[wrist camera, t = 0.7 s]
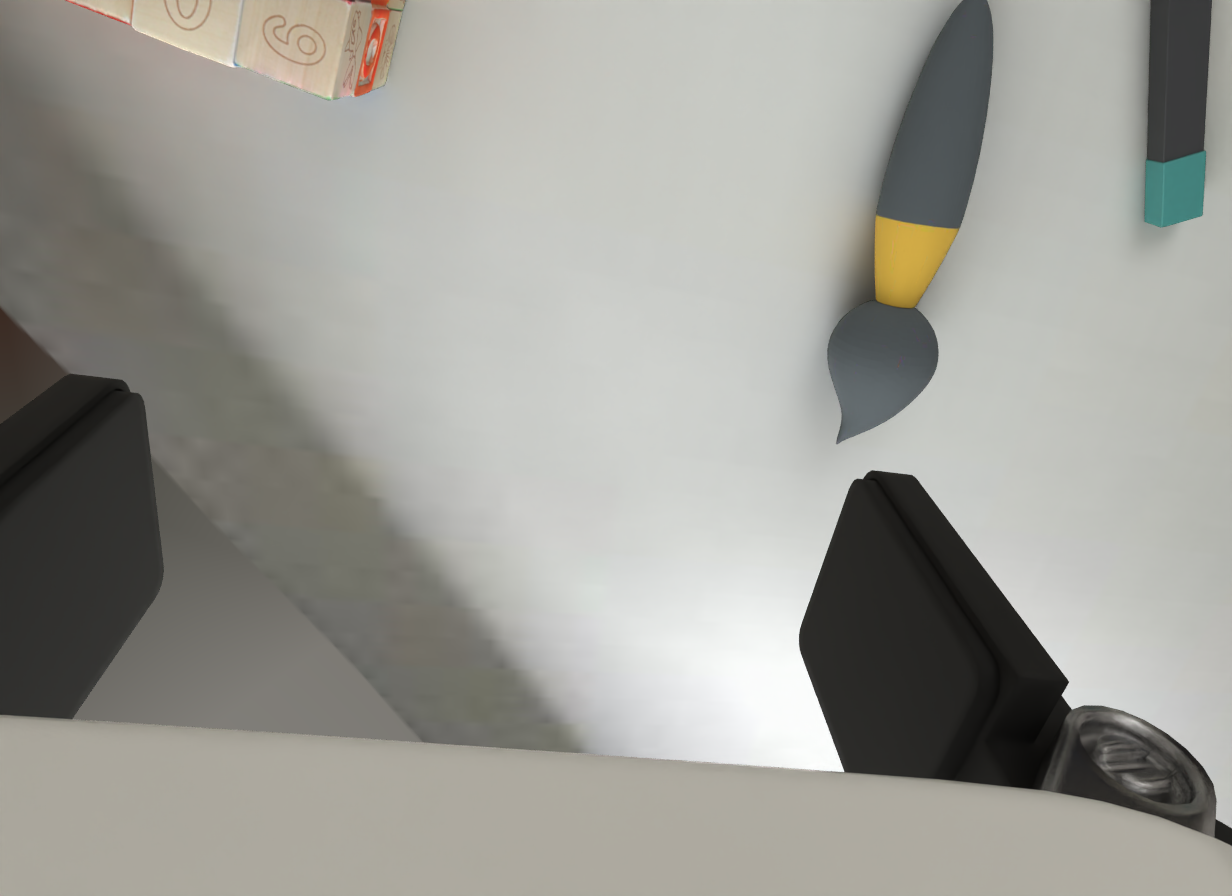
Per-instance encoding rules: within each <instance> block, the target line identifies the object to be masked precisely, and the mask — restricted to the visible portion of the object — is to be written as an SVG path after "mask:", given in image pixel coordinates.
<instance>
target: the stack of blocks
mask: <svg viewBox="0 0 1232 896" xmlns="http://www.w3.org/2000/svg"><path fill="white" fill-rule="evenodd" d="M66 1H68V2H71V3H73V4H76V5H79V6H81V7H84V8H87V9H89V10H92V11H94V12H97V13H99V14H102V15H105V16H107V17H110V18H112V19H115V20H118V21H120V22H123V23H126V24H128V25H131V26H132V27H133V28H134V30H136V31H138V32H140V33H143V34H145V35H148V36H150V37H153V38H155V39H158V40H160V41H163V42H165V43H168V44H170V45H173V46H176V47H178V48H181V49H183V50H186V51H189V52H191V53H194V54H197V55H199V56H202V57H205V58H208V59H210V60H213V61H216V62H218V63H221V64H224V65H226V66H229V67H232V68H236V67H243V68H246V69H248V70H250V71H253V72H255V73H258V74H261V75H263V76H266V77H268V78H271V79H274V80H276V81H279V82H282V83H284V84H287V85H289V86H292V87H295V88H297V89H300V90H302V91H305V92H307V93H310V94H313V95H315V96H318V97H321V98H323V99H326V100H336V99H340V98H342V97H345V96H352V97H357V96H360V95H363V94H365V93H368V92H370V91H371V90H375V89H377V88H379V87H382V86H384V85H385V84H386V79H387V75H388V70H389V66H390V62H391V58H392V54H393V49H394V45H395V41H396V37H397V33H398V28H399V24H400V20H401V15H402V11H403V8H404V5H405V1H406V0H66Z"/></svg>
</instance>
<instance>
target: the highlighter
mask: <svg viewBox="0 0 1232 896" xmlns="http://www.w3.org/2000/svg"><path fill="white" fill-rule="evenodd" d="M1211 9H1212V0H1151V19H1150V60H1149V101H1148V143H1147V159H1146V182H1145V222H1147V223H1150V224H1153V225H1156V226H1158V227H1166V226H1169V225H1173V224H1176V223H1179V222H1183V221H1186V220H1190V219H1193V218H1196V217H1200V216H1202V215H1203V199H1204V181H1205V164H1206V151H1204V134H1205V116H1206V98H1207V81H1208V63H1209V45H1210V27H1211Z"/></svg>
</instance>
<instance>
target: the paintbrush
mask: <svg viewBox="0 0 1232 896" xmlns="http://www.w3.org/2000/svg"><path fill="white" fill-rule="evenodd" d="M992 62H993V25H992V17H991V11H990V8H989V4H988V2H987V0H963V1H962V2H961V3H960V4H959V5H958V7H957V8H956V9H955V10H954V12H953V13H952V15H951V16H950V18H949V19H948V21H947V22H946V24H945V25H944V27H943V29H942V30H941V32H940V34H939V36H938V38H937V40H936V41H935V43H934V45H933V47H932V49H931V51H930V54H929V56H928V58H927V60H926V62H925V65H924V67H923V69H922V72H921V74H920V76H919V79H918V81H917V83H916V86H915V88H914V91H913V93H912V96H911V99H910V101H909V104H908V106H907V109H906V112H905V114H904V117H903V120H902V123H901V126H900V129H899V132H898V134H897V137H896V140H895V143H894V147H893V150H892V153H891V156H890V160H889V163H888V166H887V170H886V174H885V178H884V181H883V185H882V189H881V193H880V197H879V202H878V206H877V212H876V220H875V292H876V300H872V301H868V302H866V303H863V304H861V305H859V306H857V307H856V308H854V309H853V310H851V311H850V312H849V313H847V314H846V315H845V316H844V317H843V318H842V319H841V320H840V321H839V323H838V324H837V326H836V327H835V329H834V331H833V333H832V335H831V337H830V340H829V344H828V350H827V352H828V365H829V370H830V374H831V378H832V381H833V384H834V387H835V390H836V393H837V396H838V399H839V402H840V406H841V412H842V420H841V426H840V430H839V434H838V437H837V442H836V444H838V443H840V442H841V441H843V440H845V439H848V438H850V437H853V436H855V435H858V434H860V433H863V432H865V431H867V430H870V429H872V428H874V427H876V426H878V425H880V424H882V423H883V422H885V421H887V420H889V419H890V418H892V417H893V416H895V415H896V414H897V413H899V412H900V411H901V410H903V409H904V408H905V407H906V406H907V405H909V404H910V403H911V402H912V401H913V400H914V399H915V398H916V397H917V396H918V395H919V394H920V393H921V392H922V391H923V390H924V388H925V387H926V386H927V384H928V383H929V382H930V380H931V378H932V376H933V375H934V372H935V370H936V367H937V362H938V343H937V339H936V335H935V333H934V330H933V328H932V326H931V325H930V323H929V322H928V320H927V319H926V318H925V317H924V315H923V314H922V313H921V312H919V311H918V310H917V309H916V308H914V307H915V306H916V305H917V303H918V302H919V300H920V299H921V297H922V295H923V294H924V292H925V290H926V289H927V287H928V285H929V284H930V282H931V281H932V279H933V277H934V275H935V274H936V272H937V270H938V268H939V266H940V265H941V263H942V261H943V259H944V258H945V256H946V254H947V252H948V250H949V248H950V246H951V244H952V242H953V241H954V239H955V237H956V235H957V233H958V230H959V228H960V226H961V223H962V220H963V217H964V214H965V210H966V207H967V204H968V200H969V196H970V192H971V189H972V185H973V181H974V177H975V173H976V168H977V164H978V159H979V155H980V150H981V145H982V139H983V134H984V128H985V122H986V116H987V109H988V102H989V94H990V85H991V76H992Z"/></svg>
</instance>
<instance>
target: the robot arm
mask: <svg viewBox="0 0 1232 896" xmlns="http://www.w3.org/2000/svg"><path fill="white" fill-rule="evenodd" d="M163 572H164V567H163V557H162V548H161V540H160V531H159V524H158V515H157V506H156V497H155V489H154V480H153V473H152V464H151V455H150V446H149V438H148V429H147V421H146V412H145V405H144V401H143V399H142V397H141V395H139V394H138V393H131V392H130V390H129V388H128V386H127V384H126V383H125V382H124V381H123V380H118V379H110V378H102V377H93V376H85V375H77V374H69V375H67V376H65V377H63V378H62V379H60V380H59V381H58V382H56V383H55V384H54V385H52V386H51V387H50V388H48V389H47V390H46V391H44V392H43V393H42V394H40V395H39V396H38V397H36V398H35V399H34V400H32V401H31V402H30V403H28V404H27V405H25V406H24V407H23V408H21V409H20V410H19V411H17V412H16V413H15V414H14V415H12V416H11V417H9V418H8V419H7V420H5V421H4V422H3V423H1V424H0V896H1232V829H1231V828H1230V827H1228V826H1226V825H1225V824H1223V823H1221V822H1220V821H1218V820H1216V795H1215V790H1214V786H1213V783H1212V781H1211V780H1210V778H1209V776H1208V775H1207V773H1206V771H1205V770H1204V768H1203V766H1202V765H1201V764H1200V763H1199V762H1198V761H1197V760H1196V759H1195V758H1194V757H1193V756H1192V755H1191V753H1190V752H1189V751H1188V750H1187V749H1186V748H1184V747H1183V746H1182V745H1181V744H1179V743H1178V742H1177V741H1176V740H1174V739H1173V738H1172V737H1170V736H1169V735H1168V734H1167V733H1165V732H1163V731H1162V730H1160V729H1158V728H1157V727H1155V726H1153V725H1152V724H1150V723H1148V722H1147V721H1145V720H1143V719H1140V718H1138V717H1136V716H1133V715H1131V714H1129V713H1126V712H1124V711H1121V710H1117V709H1113V708H1109V707H1105V706H1085V705H1084V706H1081V707H1078V708H1076V709H1073V710H1072V709H1071V708H1070V707H1069V705H1068V704H1067V703H1066V701H1065V700H1064V698H1063V697H1062V696H1061V695H1062V693H1063V692H1064V690H1065V688H1066V686H1067V685H1068V683H1069V681H1068V680H1067V678H1066V677H1065V676H1064V674H1063V673H1062V672H1061V670H1060V669H1059V668H1058V666H1057V665H1056V664H1055V662H1054V661H1053V660H1052V658H1051V657H1050V656H1049V654H1048V653H1047V652H1046V650H1045V649H1044V648H1043V646H1042V645H1041V644H1040V642H1039V641H1038V640H1037V638H1036V637H1035V636H1034V634H1033V633H1032V632H1031V630H1030V629H1029V628H1028V627H1027V625H1026V624H1025V623H1024V621H1023V620H1022V619H1021V617H1020V616H1019V615H1018V613H1017V612H1016V611H1015V609H1014V608H1013V607H1012V605H1011V604H1010V603H1009V601H1008V600H1007V599H1006V597H1005V596H1004V595H1003V593H1002V592H1001V591H1000V589H999V588H998V587H997V585H996V584H995V583H994V581H993V580H992V579H991V577H990V576H989V575H988V573H987V572H986V571H985V569H984V568H983V567H982V565H981V564H980V563H979V561H978V560H977V559H976V557H975V556H974V555H973V553H972V552H971V551H970V549H969V548H968V547H967V545H966V544H965V543H964V541H963V540H962V539H961V537H960V536H959V535H958V533H957V532H956V531H955V529H954V528H953V527H952V525H951V524H950V523H949V521H948V520H947V519H946V517H945V516H944V515H943V513H942V512H941V511H940V509H939V508H938V507H937V505H936V504H935V503H934V501H933V500H932V499H931V497H930V496H929V495H928V493H927V492H926V491H925V489H924V488H923V487H922V485H921V484H920V483H919V481H918V480H917V479H916V478H915V477H914V476H913V475H907V474H898V473H890V472H882V471H873V470H872V471H870V472H868V473H867V474H866V476H865V477H864V479H856V480H854V482H853V483H852V484H851V486H850V488H849V491H848V494H847V497H846V499H845V502H844V505H843V508H842V511H841V514H840V516H839V519H838V522H837V525H836V528H835V531H834V533H833V536H832V539H831V542H830V545H829V548H828V550H827V553H826V556H825V559H824V562H823V565H822V567H821V570H820V573H819V576H818V579H817V582H816V585H815V587H814V590H813V593H812V596H811V599H810V602H809V604H808V607H807V610H806V613H805V616H804V619H803V621H802V624H801V628H800V634H799V646H800V652H801V655H802V658H803V660H804V663H805V666H806V669H807V671H808V674H809V677H810V679H811V682H812V685H813V687H814V690H815V693H816V696H817V698H818V701H819V704H820V706H821V709H822V712H823V715H824V717H825V720H826V723H827V725H828V728H829V731H830V733H831V736H832V739H833V742H834V744H835V747H836V750H837V752H838V755H839V758H840V760H841V763H842V766H843V769H844V771H845V772H833V771H819V770H806V769H792V768H779V767H765V766H752V765H739V764H725V763H711V762H696V761H682V760H667V759H653V758H638V757H624V756H609V755H594V754H580V753H565V752H551V751H536V750H522V749H507V748H493V747H478V746H463V745H449V744H434V743H420V742H405V741H390V740H375V739H362V738H347V737H332V736H318V735H304V734H290V733H275V732H260V731H246V730H231V729H215V728H199V727H183V726H168V725H152V724H137V723H121V722H106V721H90V720H73V719H72V718H73V717H74V715H75V714H76V713H77V711H78V710H79V708H80V707H81V705H82V704H83V702H84V701H85V699H86V698H87V697H88V695H89V694H90V692H91V691H92V689H93V687H94V686H95V685H96V683H97V682H98V680H99V679H100V678H101V676H102V675H103V673H104V672H105V670H106V669H107V667H108V666H109V664H110V663H111V662H112V660H113V659H114V657H115V655H116V654H117V653H118V651H119V650H120V649H121V647H122V645H123V644H124V643H125V641H126V640H127V638H128V637H129V635H130V634H131V633H132V631H133V630H134V628H135V627H136V625H137V624H138V622H139V621H140V619H141V618H142V616H143V615H144V614H145V612H146V610H147V609H148V608H149V606H150V605H151V603H152V602H153V601H154V599H155V598H156V596H157V594H158V592H159V590H160V587H161V584H162V580H163Z"/></svg>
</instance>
